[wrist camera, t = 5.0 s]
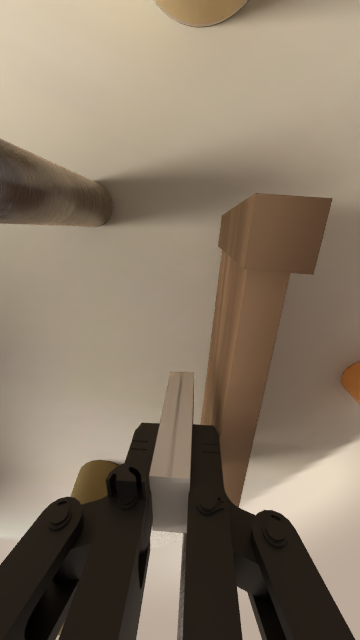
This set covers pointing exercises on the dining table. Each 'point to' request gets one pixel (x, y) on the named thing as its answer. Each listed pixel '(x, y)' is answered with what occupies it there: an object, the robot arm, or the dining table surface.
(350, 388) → the post
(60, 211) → the gate frame
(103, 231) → the dining table surface
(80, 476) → the cork
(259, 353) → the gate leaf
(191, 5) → the coffee cup
